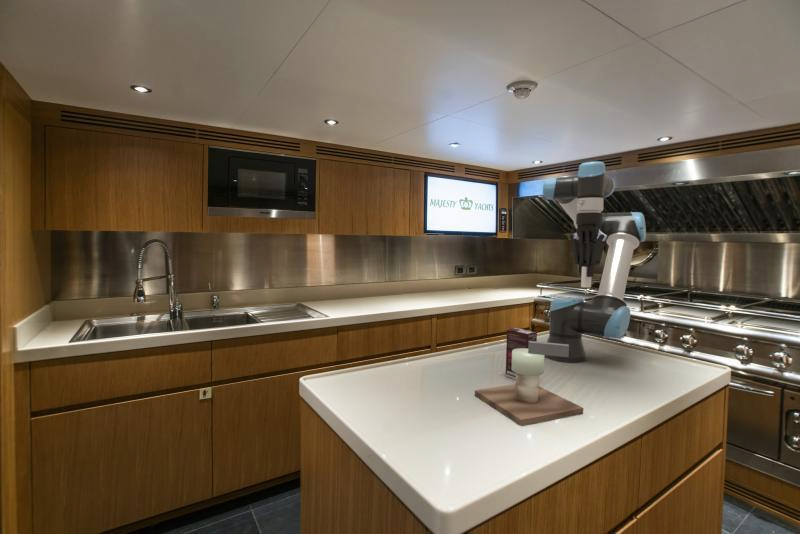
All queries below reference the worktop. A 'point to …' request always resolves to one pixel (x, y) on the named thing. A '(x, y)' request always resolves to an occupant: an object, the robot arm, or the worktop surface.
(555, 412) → the wooden board with post
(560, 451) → the worktop surface
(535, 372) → the white cylinder
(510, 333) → the supplement box
